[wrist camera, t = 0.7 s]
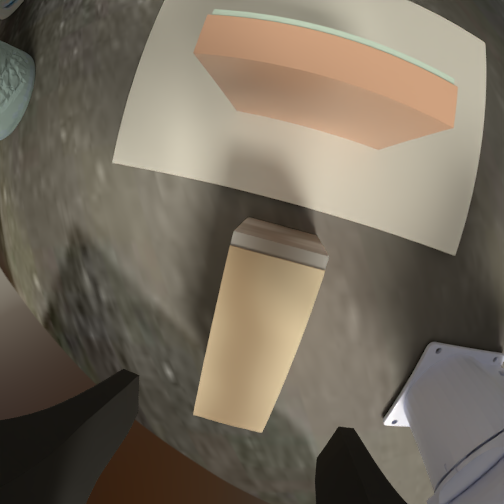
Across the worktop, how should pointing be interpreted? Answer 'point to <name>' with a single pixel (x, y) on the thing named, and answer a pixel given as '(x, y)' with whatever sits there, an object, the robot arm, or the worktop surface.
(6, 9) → the spray can
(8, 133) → the teal cup
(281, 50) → the tile
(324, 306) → the worktop surface
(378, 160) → the mat
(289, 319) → the tan wooden block
